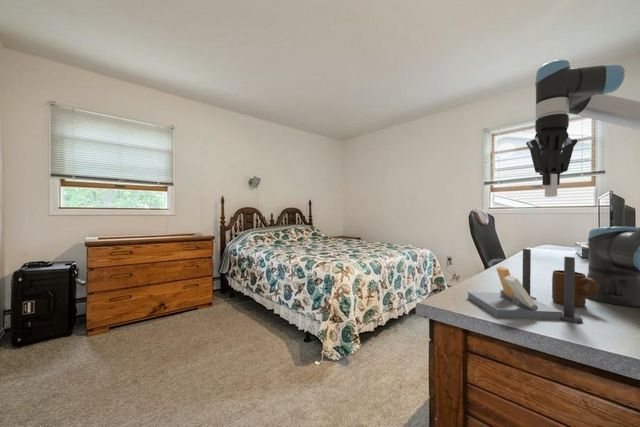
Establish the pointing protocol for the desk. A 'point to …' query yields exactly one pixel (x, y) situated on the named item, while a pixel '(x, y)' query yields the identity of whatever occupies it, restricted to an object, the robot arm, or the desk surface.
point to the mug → (579, 288)
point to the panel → (512, 306)
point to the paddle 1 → (507, 289)
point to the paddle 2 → (521, 293)
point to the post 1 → (527, 270)
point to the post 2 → (569, 291)
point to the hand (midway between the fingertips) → (550, 196)
